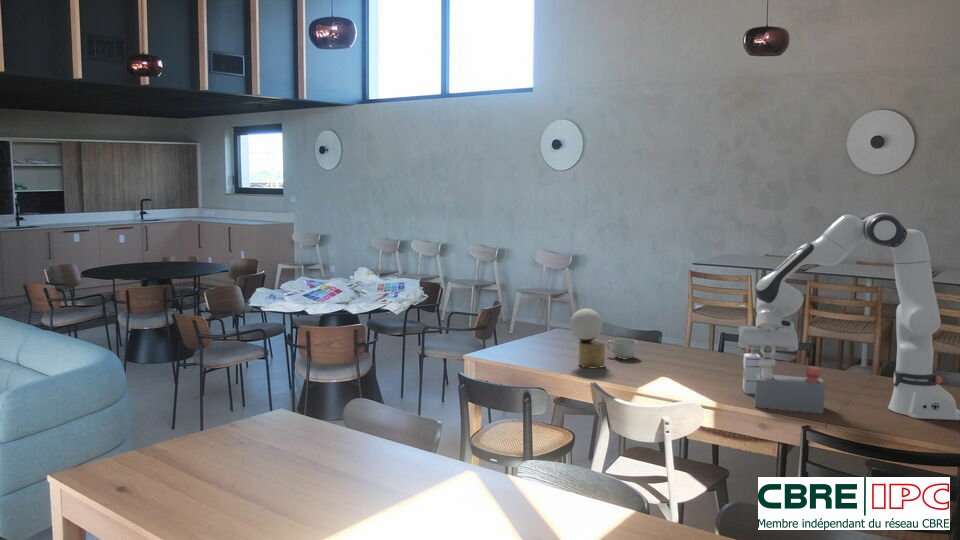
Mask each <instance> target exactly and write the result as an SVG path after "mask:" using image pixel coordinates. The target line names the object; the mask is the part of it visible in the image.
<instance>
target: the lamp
mask: <svg viewBox="0 0 960 540" xmlns="http://www.w3.org/2000/svg"><path fill="white" fill-rule="evenodd" d="M603 324H604V323H603V319H602V316H601V315H600V314H599V313H598V312H597V311H595V310H594V309H591V308H581V309H579V310H577V311H575V312H574V313H573V314H572V316H571V318H570V322H569V328H570V331H571V333H572V335H573V336H574V337H575V338H576V339H578V340H579V341H578V361H577V362H578V364H579V365H581V366H584V367H600V366H603V365H604V366H605V351H606V350H605V348H606V343H605V341H604V340H600V339H596V338H598V337H599V336H600V334H601V333H602V332H603ZM579 365H578V366H579ZM581 366H580V367H581ZM584 367H583V368H584Z"/></svg>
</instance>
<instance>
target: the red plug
mask: <svg viewBox="0 0 960 540" xmlns="http://www.w3.org/2000/svg"><path fill="white" fill-rule="evenodd" d="M821 374H822V369H821V368H820V367H817V366H816V367H815V366H805V367H804V375H806V377H807V382H809V383H818V378H819V376H821Z"/></svg>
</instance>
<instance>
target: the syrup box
mask: <svg viewBox="0 0 960 540" xmlns="http://www.w3.org/2000/svg"><path fill="white" fill-rule="evenodd" d="M760 358H762V357H761V356H760V354H759V353H751V352H750V353H743V362H742V363H743V364H742V367H743V368H742V391H743V393H744V394H748V395H755V387H756V374H761V369H762V366H761V365H760Z"/></svg>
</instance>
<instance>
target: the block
mask: <svg viewBox="0 0 960 540" xmlns="http://www.w3.org/2000/svg"><path fill="white" fill-rule="evenodd" d="M761 377H762V373H760V374H756V387H755V394H754V408H755V407H758V408H757V409H765V408H768V410H776V409H779V410H778V411H787V410H788V411H787V412H798V411H801V412H800V413H808V412H809V413H811V414H821V415H824V408H825V407H824V404H825V388H826V387H825V386H826V385H825V383H824V380H823V378H819V377H818V383H809V382H807V376H804V377H803V376H793V375H792V376H791V375H780V374H779V375H778V374H772V379H761Z"/></svg>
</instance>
